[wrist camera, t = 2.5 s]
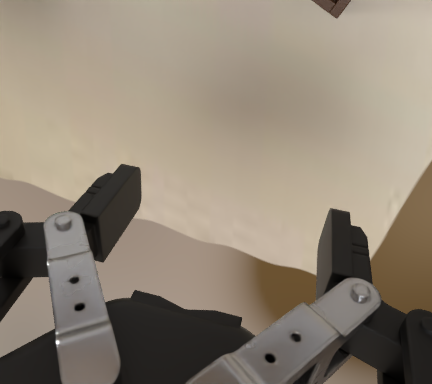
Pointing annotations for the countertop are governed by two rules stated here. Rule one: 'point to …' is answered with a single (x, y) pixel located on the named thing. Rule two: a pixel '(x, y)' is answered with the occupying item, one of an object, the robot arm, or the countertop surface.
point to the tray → (333, 6)
